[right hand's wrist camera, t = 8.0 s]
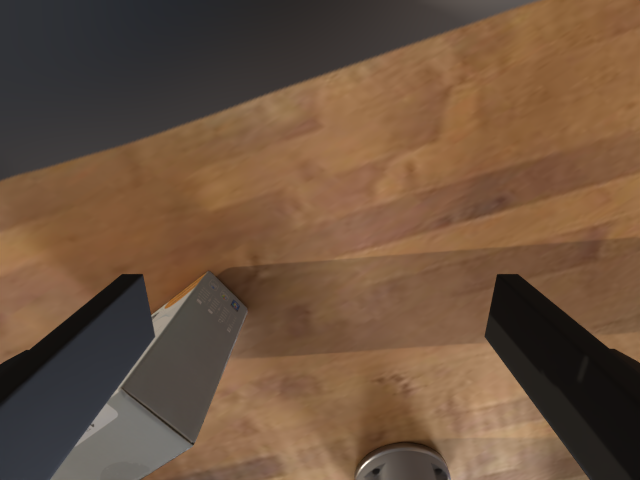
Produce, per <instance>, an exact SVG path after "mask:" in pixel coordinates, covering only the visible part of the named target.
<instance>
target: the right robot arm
mask: <svg viewBox="0 0 640 480" xmlns="http://www.w3.org/2000/svg"><path fill="white" fill-rule="evenodd" d="M154 338H155V332H154V327H153V322H152V317H151V312H150V307H149V302H148V297H147V292H146V287H145V282H144V277H143V274H122V275H121V276H119V277H118V278H117V279H116V280H114V281H113V282H112V283H111V284H110V285H108V286H107V287H106V288H105V289H103V290H102V291H101V292H100V293H99V294H97V295H96V296H95V297H94V298H92V299H91V300H90V301H89V302H87V303H86V304H85V305H84V306H83V307H81V308H80V309H79V310H78V311H76V312H75V313H74V314H73V315H72V316H70V317H69V318H68V319H67V320H65V321H64V322H63V323H62V324H60V325H59V326H58V327H57V328H56V329H54V330H53V331H52V332H51V333H49V334H48V335H47V336H46V337H45V338H43V339H42V340H41V341H40V342H38V343H37V344H36V345H35V346H33V347H32V348H31V349H30V350H25V351H24V352H22V353H20V354H18V355H16V356H14V357H12V358H11V359H9V360H7V361H5V362H3V363H2V364H1V365H0V480H50V479H51V478H52V476H53V475H54V474H55V472H56V471H57V470H58V468H59V467H60V466H61V464H62V463H63V461H64V460H65V459H66V457H67V456H68V455H69V453H70V452H71V451H72V449H73V448H74V446H75V445H76V444H77V442H78V441H79V440H80V438H81V437H82V436H83V434H84V433H85V432H86V430H87V429H88V427H89V426H90V425H91V423H92V422H93V421H94V419H95V418H96V417H97V415H98V414H99V413H100V411H101V410H102V408H103V407H104V406H105V404H106V403H107V402H108V400H109V399H110V398H111V396H112V395H113V394H114V392H115V391H116V389H117V388H118V387H119V385H120V384H121V383H122V381H123V380H124V379H125V377H126V376H127V375H128V373H129V372H130V370H131V369H132V368H133V366H134V365H135V364H136V362H137V361H138V360H139V358H140V357H141V355H142V354H143V353H144V351H145V350H146V349H147V347H148V346H149V345H150V343H151V342H152V341H153V339H154ZM485 338H486V339H487V341H488V342H489V343H490V345H491V346H492V347H493V349H494V350H495V351H496V353H497V354H498V355H499V357H500V358H501V360H502V361H503V362H504V364H505V365H506V366H507V368H508V369H509V370H510V372H511V373H512V375H513V376H514V377H515V379H516V380H517V381H518V383H519V384H520V385H521V387H522V388H523V389H524V391H525V392H526V394H527V395H528V396H529V398H530V399H531V400H532V402H533V403H534V404H535V406H536V407H537V408H538V410H539V411H540V413H541V414H542V415H543V417H544V418H545V419H546V421H547V422H548V423H549V425H550V426H551V427H552V429H553V430H554V432H555V433H556V434H557V436H558V437H559V438H560V440H561V441H562V442H563V444H564V445H565V446H566V448H567V449H568V451H569V452H570V453H571V455H572V456H573V457H574V459H575V460H576V461H577V463H578V464H579V466H580V467H581V468H582V470H583V471H584V472H585V474H586V475H587V476H588V478H589V479H590V480H640V363H639V362H638V361H636V360H634V359H632V358H630V357H628V356H627V355H625V354H623V353H621V352H619V351H617V350H615V349H609V348H608V347H607V346H605V345H604V344H603V343H602V342H600V341H599V340H598V339H597V338H595V337H594V336H593V335H592V334H591V333H589V332H588V331H587V330H586V329H584V328H583V327H582V326H581V325H580V324H578V323H577V322H576V321H575V320H573V319H572V318H571V317H570V316H568V315H567V314H566V313H565V312H564V311H562V310H561V309H560V308H559V307H557V306H556V305H555V304H554V303H553V302H551V301H550V300H549V299H548V298H546V297H545V296H544V295H543V294H541V293H540V292H539V291H538V290H537V289H535V288H534V287H533V286H532V285H530V284H529V283H528V282H527V281H526V280H524V279H523V278H522V277H521V276H519V275H518V274H497V277H496V282H495V287H494V292H493V297H492V302H491V307H490V312H489V317H488V322H487V327H486V332H485ZM355 480H451V478H450V473H449V471H448V468H447V465H446V463H445V461H444V459H443V458H442V457H441V456H440V455H439V454H438V453H437V452H436V451H434V450H433V449H431V448H429V447H426V446H423V445H420V444H415V443H395V444H390V445H386V446H383V447H381V448H378V449H376V450H374V451H372V452H371V453H369V454H368V455H367V456H366V457H364V458H363V460H362V461H361V462H360V463H359V465H358V467H357V469H356V472H355Z"/></svg>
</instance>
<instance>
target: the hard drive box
mask: <svg viewBox="0 0 640 480" xmlns="http://www.w3.org/2000/svg"><path fill="white" fill-rule="evenodd" d="M247 312H248V311H247V308H246V307H245V306H244V304H243V303H242V302H241V301H240V300H238V298H237V297H236V296H235V295H234V294H233V293H232V292H231V291H229V290H228V289H227V288H226V287H225V286H224V285H223V284H222V283H221V282H220V281H219V279H217V278H216V277H215V276H214V275H213V274H212V273H211V272H210V271H208V272H206V273H205V274H204V275H202V276H201V277H200V278H198V279H197V280H196V281H195V282H193V283H192V284H191V285H189V286H188V287H187V288H186V289H184V290H183V291H182V292H180V293H179V294H178V295H177V296H175V297H174V298H173V299H171V300H170V301H169V302H168V303H166V304H165V305H164V306H162V307H161V308H160V309H159V310H157V311H156V312H155V313H153V314H152V315H151V317H152V322H153V327H154V332H155V338H154V339H153V341H152V342H151V343H150V345H149V346H148V347H147V349H146V350H145V351H144V353H143V354H142V355H141V357H140V358H139V360H138V361H137V362H136V364H135V365H134V366H133V368H132V369H131V370H130V372H129V373H128V375H127V376H126V377H125V379H124V380H123V381H122V383H121V384H120V385H119V387H118V388H117V389H116V391H115V392H114V394H113V395H112V396H111V398H110V399H109V400H108V402H107V403H106V404H105V406H104V407H103V408H102V410H101V411H100V413H99V414H98V415H97V417H96V418H95V419H94V421H93V422H92V423H91V425H90V426H89V427H88V429H87V430H86V432H85V433H84V434H83V436H82V437H81V438H80V440H79V441H78V442H77V444H76V445H75V446H74V448H73V449H72V451H71V452H70V453H69V455H68V456H67V457H66V459H65V460H64V461H63V463H62V464H61V466H60V467H59V468H58V470H57V471H56V472H55V474H54V475H53V476H52V478H51V479H50V480H140V479H142V478H144V477H145V476H147V475H149V474H150V473H152V472H153V471H155V470H156V469H158V468H160V467H161V466H163V465H165V464H166V463H168V462H169V461H171V460H173V459H174V458H176V457H177V456H179V455H180V454H182V453H183V452H185V451H186V450H188V449H189V448H191V447H193V445H194V443H195V441H196V439H197V436H198V434H199V431H200V429H201V426H202V424H203V422H204V419H205V417H206V414H207V412H208V409H209V406H210V404H211V401H212V399H213V396H214V394H215V391H216V389H217V386H218V384H219V381H220V379H221V377H222V374H223V372H224V369H225V367H226V364H227V362H228V359H229V357H230V354H231V352H232V349H233V347H234V344H235V342H236V340H237V337H238V335H239V332H240V330H241V327H242V325H243V322H244V320H245V317H246V315H247Z"/></svg>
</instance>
